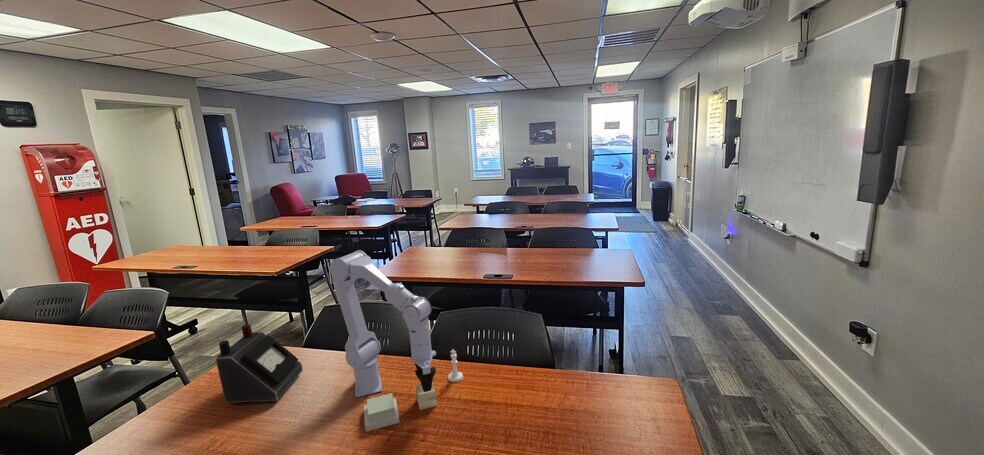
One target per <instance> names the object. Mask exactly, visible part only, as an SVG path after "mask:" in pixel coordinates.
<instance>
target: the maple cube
mask: <svg viewBox="0 0 984 455" xmlns="http://www.w3.org/2000/svg"><path fill="white" fill-rule="evenodd" d="M415 391H416V392H415V393H416V400H417V404H418V409H419V411H422V410H425V409H429V408H433V407H436V406H438V403H437V394H436V388H435V384H434V383H433V381H432V388H431V391H427V392H424V391H423V389H422V385H421V383H420V384H416V385H415Z"/></svg>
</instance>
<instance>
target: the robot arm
mask: <svg viewBox="0 0 984 455" xmlns="http://www.w3.org/2000/svg"><path fill="white" fill-rule="evenodd" d="M371 258H372V257H371V256H369V255H367V254H366V253H365V251H363V250H361V249H360V250H355V251H353V252H351V253H349V254H346V255H344V256H341V257H337V258H335V259H333V260H332V262H331V264H330V266H329V268H328V269H329V271H330V274H331V275H330V276H331V277H332V278H331V279H332V282H333V287H334V290H335V292H336V293H335V294H336V295H337V299H338V302H339V306H340V310H341V313H342V316H343V318H344V319H343V320H344V321H345V322H344V323H345V326H346V329H347V331H348V332H347V333H348V339H347V341H346V343H345V345H344V349H345V360H346V363H347V365H349V367H350V368H352V369H353V375H354V393H355V394H354V396H355V398H359V397H364V396H368V395H373V394H375V393H376V394H377V393H380V392H382V391H383V387H382V386H383V385H382V380H381V379H382V377H381V374H379V365H378V360H377V359H379V353H380V352H381V350H382V346H381V343H380V341H379V340H378V339H377V338H378V337H376V334H375V332H374V331H370V330H368V327H367V325H366V321H365V318H364V313H363V311H362V310H363V309H362V307H361V304H360V303H361V302H360V300H359V297H358V294H357V291H356V288H355V284H354V283H355V281H356V280H357V279H365V280H366V281H368V282H369V283H370V284H371V285H373V286H375V287H376V288H377V289H379V290H380V291H382V292H383V293H384V298H385V300H387V301H388V303H390V304H391V305H392V306H394V307H395V308H396V309H397V310H398V311H400V312H401V316H402V318H403V320H404V321H405V323H406V327H407V329H408V334H409V342H410V352H411V354H410V356H409V357H410V359H411V361H412V362H413V363H414V365H415V368H416V369H415V370H414V372H415V376H416V377H417V378H418V380H419V382H420V384H421V385H422V389H423V391H424V392H427V391H431V388H432V382H433V380H434V377H435V374H436V373H437V368H436V366H433V367H431V363H432V360H433V358H434V357H436V356H437V352H436V350H432V342H431V332H430V321H429V320H430V319H429V315H431V313H432V305H431V303H430V302H429V300H428V299H427V298H426V297H424V296H418V295H415V294H414V293H412V292H411V290H408V289H407V288H406V287H405V285H403V283H400V282H397V283H396V282H395V283H394V282H392V281H391V280H390V279H389V278H388V277H387V276H386V275H385V274H384V273H383V272H381V271H380V270H379V269H378V268H377V267H376V265H374V264H373V263H372V259H371Z"/></svg>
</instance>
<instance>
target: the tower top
mask: <svg viewBox="0 0 984 455" xmlns="http://www.w3.org/2000/svg"><path fill="white" fill-rule="evenodd" d="M393 398H394V397H393V393H392V392H391V393H387V394H383V395H379V396H375V397H372V398H368V399H367V400H366V405H368V416H369V422H374V421H377V420H381V419H385V418H388V417H392V416H395V415H396V413H395V406H394V401H393Z"/></svg>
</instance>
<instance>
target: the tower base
mask: <svg viewBox="0 0 984 455" xmlns="http://www.w3.org/2000/svg"><path fill="white" fill-rule="evenodd" d="M393 401H394V406H395V413H396V415H395V416H392V417H388V418H385V419H381V420H377V421H374V422H369V416H368V405H367V404H365V405H363V411H364V412H363V414H364V415H363V416H364V428H365V429H364V430H365V432H369V431H374V430H377V429H381V428H384V427H388V426H392V425H396V424H400V416H399V410H398V404H397V398H396V397H393Z"/></svg>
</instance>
